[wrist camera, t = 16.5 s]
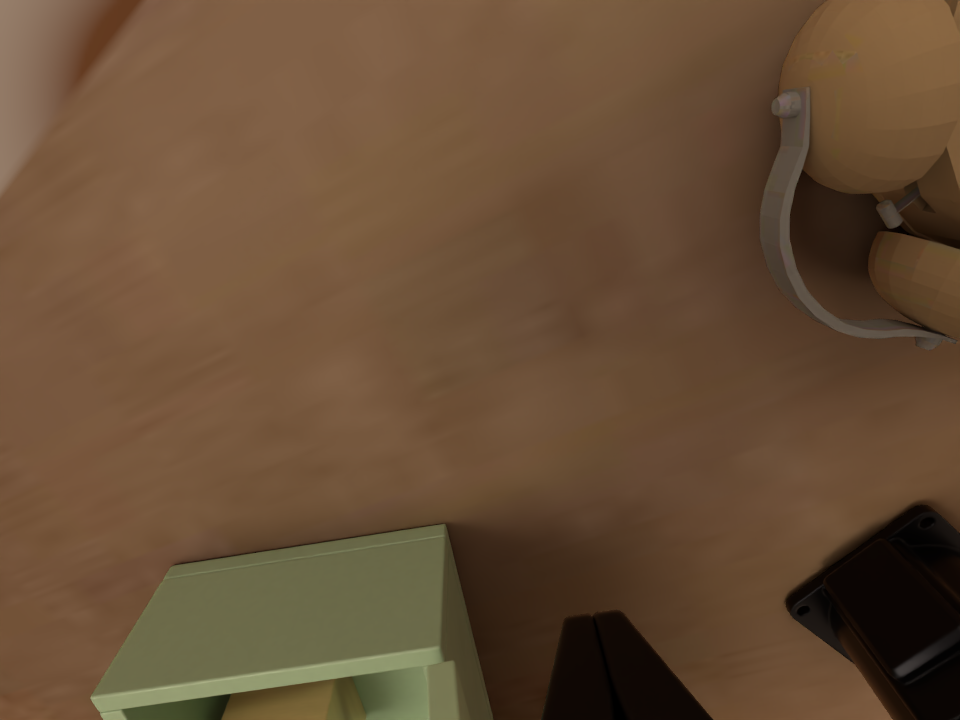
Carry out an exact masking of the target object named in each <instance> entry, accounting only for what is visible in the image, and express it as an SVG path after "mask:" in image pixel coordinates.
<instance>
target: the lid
mask: <svg viewBox="0 0 960 720" xmlns="http://www.w3.org/2000/svg"><path fill="white" fill-rule="evenodd" d="M427 691H428V720H471V719H470V715H469V712H468V708H467V704H466V701H465V697H464V693H463V689H462V686H461V682H460V678H459V675H458V671H457V667H456V663H455V662H454V661H453V660H451V661H447V662H442V663H438V664H433V665H429V666H428V667H427Z"/></svg>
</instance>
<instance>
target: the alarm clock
mask: <svg viewBox="0 0 960 720" xmlns="http://www.w3.org/2000/svg"><path fill="white" fill-rule="evenodd" d="M771 109H772V113H773V114H774V115H776V116H778V117H779V120H780V127H781V131H782V134H781V145H780V148H779V151H778V154H777V156H776V159H775V162H774V164H773V167H772V169H771V172H770V175H769V178H768V181H767V184H766V186H765V189H764V194H763V199H762V205H761V210H760V243H761V246H762V250H763V253H764V257H765V261H766V264H767V267H768V269H769V271H770V273H771V275H772V277H773V279H774V281H775V283H776V285H777V287H778V289H779V290H780V291H781V292H782V293H783V294H784V296H785V297H786V298H787V299H788V300H789V301H790V302H791V303H792V304H793V305H794V306H795V307H796V308H798V309H799V310H800V311H802V312H803V313H805V314H806V315H808V316H809V317H811V318H812V319H814V320H815V321H817V322H819V323H821V324H824V325H826V326H828V327H830V328H832V329H834V330H836V331H839V332H842V333H845V334H849V335H852V336H855V337H859V338H874V339H883V338H891V337H916V346H918V347H921V348H924V349H926V350H932V349H934V348H936V347H937V346H939V345H940V343H941V342H942V340H945V341H948V342H951V343H954V344H956V342H957V340H954V339H952V338H949V337H947V336H946V335H948V336H952V337H956V338H960V0H827V1H825V2H824V3H823V4H822V5H821V6H820V7H818V8H817V9H816V10H815V12H814V13H813V14H812V15H811V17H810V18H809V19H808V21H807V22H806V23H805V24H804V26H803V27H802V28H801V30H800V31H799V32H798V34H797V35H796V37H795V39H794V41H793V43H792V45H791V47H790V50H789V52H788V54H787V57H786V59H785V62H784V64H783V66H782V71H781V76H780V81H779V86H778V97H777V98H775V99H774V100H773V102H772V106H771ZM802 169H803V170H804V171H805V172H806V173H807V174H808V175H809V176H810V177H811V178H812V179H813V180H815V181H816V182H818V183H820V184H821V185H823V186H826V187H829V188H831V189H834V190H836V191H839V192H844V193H848V194H868V193H872V194H873V195H874V197H875V198H876V199H877V200H878V201H879V202H880V203H879V204H878V205H877V206H876V209H877V211H878V213H879V214H880V216H881V219H883V221H884V223H885V224H886V226H887V228H895V227H898V226H899V225H900V226H901V227H902V228H903V229H904V230H905V231H906V232H908V233H910V234H913V235H915V236H917V237H919V238H917V237H913V236H909V235H905V234H899V233H893V232H888V231H882V232H878V233H877V235H876V237H875V239H874V241H873V244H872V247H871V250H870V254H869V260H868V270H869V274H870V278H871V281H872V283H873V285H874V287H875V289H876V291H877V292H878V293H879V294H880V296H881V297H882V298H883V299H884V300H885V301H886V302H887V303H888V304H889V305H890V306H891V307H893V308H894V309H895V310H897V311H898V312H899V313H901V314H902V315H903V316H905V317H907V318H909V319H910V320H912V321H914V322H916V323H917V324H920V325H922V327H920V326H917V325H914V324H910V323H906V322H902V321H898V320H889V319H872V320H863V321H861V320H846V319H840V318H837V317H835V316H833V315H832V314H831V313H829V312H828V311H826V310H825V309H824V308H823V307H822V306H821V305H820V304H819V303H818V302H817V301H816V300H815V298H814V297H813V296H812V295H811V294H810V293H809V292H808V290H807V288H806V286H805V284H804V282H803V280H802V278H801V276H800V274H799V272H798V270H797V268H796V264H795V260H794V256H793V252H792V248H791V244H790V211H791V206H792V201H793V197H794V192H795V187H796V185H797V182H798V179H799V177H800V174H801V171H802ZM921 238H922V239H921ZM923 326H924V327H923ZM944 334H945V335H944Z"/></svg>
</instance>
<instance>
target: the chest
mask: <svg viewBox="0 0 960 720" xmlns="http://www.w3.org/2000/svg"><path fill="white" fill-rule="evenodd" d="M451 660H453V661H454V662H455V663H456V667H457V671H458V675H459V678H460V682H461V686H462V689H463V693H464V697H465V701H466V704H467V708H468V712H469V715H470V719H471V720H494V719H493V715H492V711H491V707H490V703H489V699H488V694H487V690H486V686H485V682H484V678H483V674H482V670H481V666H480V662H479V658H478V654H477V650H476V646H475V641H474V637H473V633H472V629H471V625H470V621H469V617H468V613H467V609H466V605H465V601H464V597H463V593H462V588H461V584H460V580H459V576H458V572H457V568H456V564H455V560H454V556H453V552H452V548H451V544H450V539H449V535H448V531H447V527H446V525H445V524H440V525H433V526H427V527H420V528H414V529H408V530H401V531H395V532H388V533H382V534H375V535H369V536H362V537H356V538H349V539H343V540H336V541H330V542H323V543H317V544H310V545H304V546H297V547H291V548H284V549H278V550H271V551H265V552H258V553H252V554H245V555H239V556H232V557H226V558H219V559H213V560H206V561H200V562H193V563H187V564H180V565H174V566H171V567H170V569H169V571H168V572H167V574H166V575H165V577H164V580H163V581H162V582H161V584H160V585H159V587H158V588H157V590H156V592H155V593H154V595H153V596H152V598H151V600H150V601H149V603H148V605H147V606H146V608H145V609H144V611H143V613H142V614H141V616H140V617H139V619H138V621H137V622H136V624H135V626H134V627H133V629H132V630H131V632H130V634H129V635H128V637H127V639H126V640H125V642H124V643H123V645H122V647H121V648H120V650H119V651H118V653H117V655H116V656H115V658H114V660H113V661H112V663H111V664H110V666H109V668H108V669H107V671H106V673H105V674H104V676H103V677H102V679H101V681H100V682H99V684H98V685H97V687H96V689H95V690H94V692H93V694H92V695H91V700H92V702H93V703H94V705H95V706H96V708H97V709H98V711H99V712H101V713H100V715H101V716H102V718H103V719H104V720H221V719H222V716H223V714H224V711H225V709H226V706H227V703H228V701H229V698H230V696H231V694H232V693H239V692H246V691H253V690H260V689H267V688H274V687H281V686H288V685H295V684H302V683H309V682H316V681H323V680H330V679H337V678H344V677H351V676H352V679H353V681H354V684H355V686H356V689H357V692H358V694H359V697H360V700H361V702H362V705H363V707H364V710H365V713H366V720H428V691H427V667H428V666H429V665H433V664H438V663H442V662H447V661H451Z"/></svg>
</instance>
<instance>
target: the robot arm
mask: <svg viewBox="0 0 960 720" xmlns="http://www.w3.org/2000/svg"><path fill="white" fill-rule="evenodd" d="M786 608H787V610H788V611H789V613H790V615H791V616H792V617H793V618H794V619H795V620H796V621H798V622H799V623H800V624H802V625H803V626H804V627H806V628H807V629H808V630H810V631H811V632H812V633H814V634H815V635H817V636H818V637H819V638H821V639H822V640H823V641H825V642H826V643H827V644H829V645H830V646H831V647H833V648H834V649H835V650H837V651H838V652H839V653H841V654H842V655H843V656H845V657H846V658H847V659H849V660H850V661H851V662H853V663H854V664H855V665H856V667H857V668H858V669H859V671H860V672H861V674H862V675H863V677H864V678H865V680H866V681H867V683H868V684H869V685H870V687H871V688H872V690H873V691H874V693H875V694H876V696H877V697H878V699H879V700H880V701H881V703H882V704H883V706H884V707H885V709H886V710H887V712H888V713H889V715H890V716H891V717H892V719H893V720H960V533H958V532H957V531H956V530H955V529H954V528H953V527H952V526H951V525H950V524H949V523H948V522H947V521H946V520H945V519H944V518H943V517H941V516H940V515H939V514H938V513H937V512H936V511H935V510H934V509H933V508H931V507H930V506H928V505H919V506H916V507H914V508H912V509H911V510H909V511H908V512H907V513H905V514H904V515H903V516H901V517H900V518H898V519H897V520H896V521H894V522H893V523H891V524H890V525H889V526H887V527H886V528H885V529H883V530H882V531H880V532H879V533H878V534H876V535H875V536H873V537H872V538H871V539H869V540H868V541H867V542H865V543H864V544H862V545H861V546H860V547H858V548H857V549H856V550H854V551H853V552H851V553H850V554H849V555H847V556H846V557H844V558H843V559H842V560H840V561H839V562H838V563H836V564H835V565H833V566H832V567H831V568H829V569H828V570H827V571H825V572H824V573H822V574H821V575H820V576H818V577H817V578H815V579H814V580H813V581H811V582H810V583H809V584H807V585H806V586H804V587H803V588H802V589H800V590H799V591H798V592H796V593H795V594H793V595H792V596H791V597H790V598H789V599H788V600H787V601H786ZM541 720H713V719H712V718H711V717H710V715H709V714H708V713H707V712H706V711H705V709H704V708H703V707H702V706H701V705H700V704H699V702H698V701H697V700H696V699H695V698H694V696H693V695H692V694H691V693H690V692H689V690H688V689H687V688H686V687H685V686H684V685H683V683H682V682H681V681H680V680H679V679H678V677H677V676H676V675H675V674H674V673H673V671H672V670H671V669H670V668H669V667H668V666H667V664H666V663H665V662H664V661H663V660H662V658H661V657H660V656H659V655H658V654H657V652H656V651H655V650H654V649H653V648H652V647H651V645H650V644H649V643H648V642H647V641H646V639H645V638H644V637H643V636H642V635H641V633H640V632H639V631H638V630H637V629H636V628H635V626H634V625H633V624H632V623H631V622H630V620H629V619H628V618H627V617H626V616H625V615H624V613H622V612H621V611H620V610H609V611H602V612H597V613H595V614H594V616H593V617H592V616H591V615H590V614H581V615H573V616H568V617H566V618H565V619H564V622H563V625H562V630H561V634H560V639H559V643H558V647H557V652H556V656H555V660H554V665H553V669H552V673H551V678H550V682H549V687H548V691H547V695H546V700H545V704H544V708H543V713H542V717H541Z"/></svg>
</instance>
